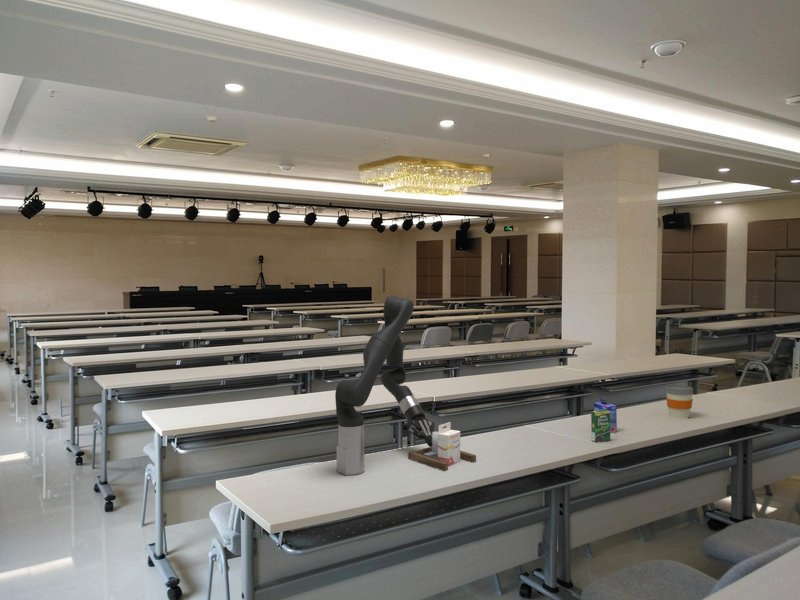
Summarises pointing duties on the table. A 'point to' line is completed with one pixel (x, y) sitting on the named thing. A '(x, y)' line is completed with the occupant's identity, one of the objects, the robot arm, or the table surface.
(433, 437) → the grey block with knob
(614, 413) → the ink cartridge box
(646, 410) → the table surface
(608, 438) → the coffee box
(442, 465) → the brown wooden frame
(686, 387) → the reusable coffee cup
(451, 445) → the ink cartridge box
